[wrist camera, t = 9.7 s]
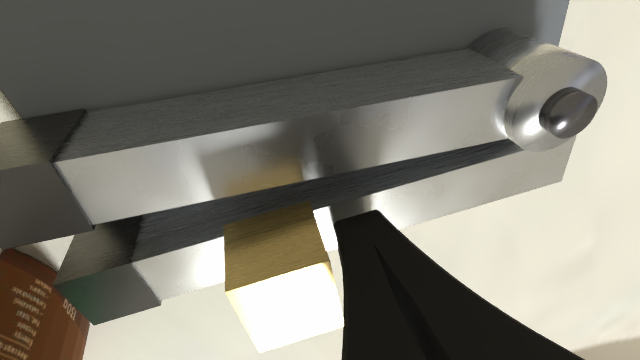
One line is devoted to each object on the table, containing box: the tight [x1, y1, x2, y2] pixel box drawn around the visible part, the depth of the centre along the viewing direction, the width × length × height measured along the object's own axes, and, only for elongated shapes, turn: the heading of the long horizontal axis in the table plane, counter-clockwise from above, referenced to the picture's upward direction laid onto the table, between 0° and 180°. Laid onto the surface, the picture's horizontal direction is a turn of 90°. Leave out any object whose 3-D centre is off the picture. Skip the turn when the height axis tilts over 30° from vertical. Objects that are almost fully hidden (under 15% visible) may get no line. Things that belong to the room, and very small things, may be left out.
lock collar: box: [224, 201, 344, 353], centre depth 10 cm, size 2×3×2 cm
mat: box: [0, 0, 569, 119], centre depth 10 cm, size 16×12×1 cm
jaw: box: [0, 29, 607, 250], centre depth 9 cm, size 15×3×4 cm, turn 93°
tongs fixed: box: [52, 135, 576, 325], centre depth 12 cm, size 16×2×3 cm, turn 98°
